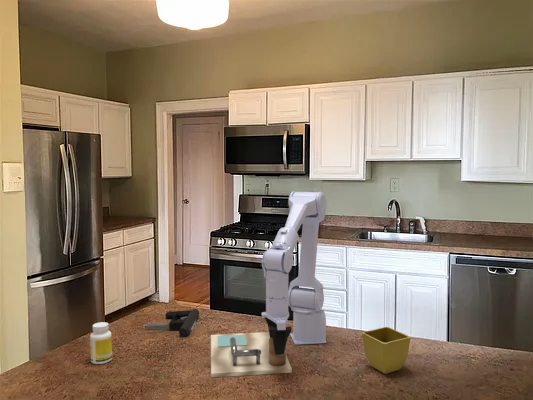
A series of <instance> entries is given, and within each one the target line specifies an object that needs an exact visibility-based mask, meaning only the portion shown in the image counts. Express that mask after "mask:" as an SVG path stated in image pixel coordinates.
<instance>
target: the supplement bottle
mask: <svg viewBox="0 0 533 400" xmlns="http://www.w3.org/2000/svg"><path fill="white" fill-rule="evenodd" d="M109 329H110V327H109V323H108V322H105V321H104V322H103V321H101V322H95V323H94V324H92V332H91V334H90V335H89V336H90V337H89V341H90V342H89V346H90V347H89V349H90V362H91V363H92V364H95V365H103V364H107V363H109V362H110V361H112V359H113V343H112V342H113V341H112V340H113V339H112V332H111V330H109Z"/></svg>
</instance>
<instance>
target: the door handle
mask: <svg viewBox="0 0 533 400" xmlns="http://www.w3.org/2000/svg"><path fill="white" fill-rule="evenodd" d="M198 317H200V311H199V310H198V309H197V308H193V309H191V310H190V309H189V310H173V311H172V310H171V311H170V310H169V311H167V312H166V313H165V318H166V319H167V320H170V321H169V322H166V323H165V322H163V323H147V324H145V325H144V330H145V331H169V332H178V333H179V334H178V335H180V336H181V337H186V336H188V335H189V334H190V332H192V331H193V330H194V326H195V325H196V323H197V318H198Z"/></svg>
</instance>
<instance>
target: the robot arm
mask: <svg viewBox="0 0 533 400" xmlns="http://www.w3.org/2000/svg"><path fill="white" fill-rule="evenodd" d="M287 203H288V208H289V213H288V217H287V218H286V222H285V225H284V227H281V228H279V230H278V231H277V234H276V235H275V238H274V240H273V242H272V245H271V246H270V248H268V249H267V250H265V251H264V253H263V255H262V258H261V267H262V270H263V277H264V279H265V311H263V312H261V317H262V318H264V319H265V322H266V324H267V328H268V332H269V335H270V338H272V339H273V345H274V351H275V354H276V355H281V354H284V352H285V347H286V348H287V341H288V338H289V336H290V338H291V340H292V342H293V344H294V346H295V345H297V346H299V345H312V344H313V345H314V344H327V317H326V313H325V310H324V309H323V307H324V302H325V301H324V300H325V294H324V285H323V284H322V283H321V281H320V280H318V279H317V278H316V267H317V265H316V264H317V255H318V252H317V251H318V239H319V227H320V223H321V222H323V221H325V217H326V209H327V200H326V196H325V194H324V192H322V191H293V190H292V191H291V192H290V194H289V196H288V202H287ZM301 226H302V229H301V230H302V231H301V238H300V237H299V234H298V231H299V230H300V228H301ZM299 238H300V239H301V242H300V252H299V253H300V254H299V255H300V256H299V266H298V274H297V275H298V276H297V277H296V278H294V279H293V280H291V281H290V282H289V273H290V271H291V270H292V267H293V259H294V255H295V254H294V251H295V248H296V246H297V243H298V242H299ZM289 307H290V309H291V310H290V311H293V314H292V315H293V319H292V321H293V327H292V326H287V321H288V319H289V317H290V312H289ZM292 328H293V330H292ZM292 331H293V332H292Z"/></svg>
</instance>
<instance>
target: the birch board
mask: <svg viewBox="0 0 533 400" xmlns="http://www.w3.org/2000/svg"><path fill="white" fill-rule="evenodd" d="M228 335H245V340H246V345H247V346H237V350H250V349H260V350H261V354H260V364H259V365H257V364H256V356H243V357H237V365H236V366H233V356H232V354H231V347H219V348H218V336H228ZM269 339H270V335H269V331H262V332H261V331H260V332H259V331H258V332H244V333H243V332H241V333H239V332H238V333H224V334H223V333H222V334H211V335H210V378H226V377H240V376H241V377H243V376H257V375H258V376H260V375H273V374H274V375H275V374H289V373H290V374H291V373H292V369H293V368H292V365H291V364H290V361H289V358H288V356H287V355H286V364H285V365H283V366H272V365H270V364H269Z"/></svg>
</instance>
